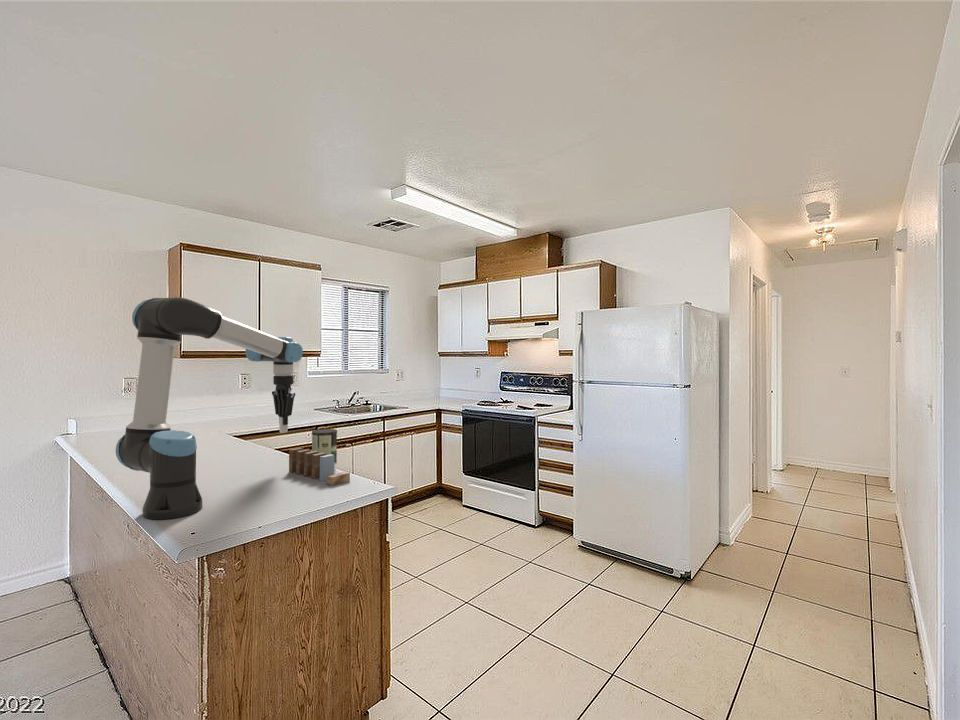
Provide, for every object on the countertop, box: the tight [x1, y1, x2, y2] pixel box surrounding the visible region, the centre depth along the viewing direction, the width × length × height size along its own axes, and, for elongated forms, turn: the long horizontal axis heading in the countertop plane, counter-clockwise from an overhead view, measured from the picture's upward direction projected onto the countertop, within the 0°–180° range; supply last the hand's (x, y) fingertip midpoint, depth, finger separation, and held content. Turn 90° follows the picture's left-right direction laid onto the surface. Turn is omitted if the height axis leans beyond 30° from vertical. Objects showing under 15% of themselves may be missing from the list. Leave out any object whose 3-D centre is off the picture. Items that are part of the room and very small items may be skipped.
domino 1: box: [288, 447, 304, 474], centre depth 193 cm, size 2×5×9 cm, turn 145°
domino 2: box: [295, 449, 312, 476], centre depth 190 cm, size 2×5×9 cm, turn 145°
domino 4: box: [311, 453, 326, 480], centre depth 185 cm, size 2×5×9 cm, turn 145°
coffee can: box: [311, 428, 338, 466], centre depth 207 cm, size 10×10×14 cm
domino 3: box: [303, 450, 318, 478], centre depth 188 cm, size 2×5×9 cm, turn 145°
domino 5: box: [319, 454, 335, 482], centre depth 182 cm, size 2×5×9 cm, turn 145°
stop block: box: [326, 471, 351, 486], centre depth 179 cm, size 8×3×3 cm, turn 145°
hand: (283, 432), depth 198 cm, fingers closed
